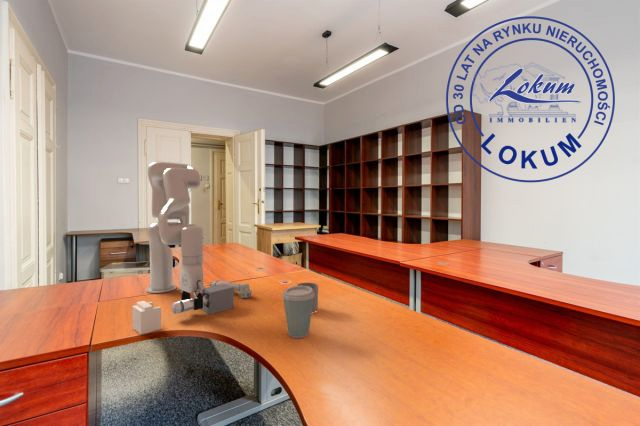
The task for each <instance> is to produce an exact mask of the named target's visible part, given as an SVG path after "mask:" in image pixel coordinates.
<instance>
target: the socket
mask: <svg viewBox="0 0 640 426" xmlns="http://www.w3.org/2000/svg"><path fill="white" fill-rule="evenodd" d="M161 329H162V306H156V307H154V301H149V302H147V301H145V300H141V301H136V304H135V305H132V330H135V331H136V332H137V333H139V335H145V334H148V333H151V332H155V331H159V330H161Z"/></svg>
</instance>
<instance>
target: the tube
mask: <svg viewBox="0 0 640 426" xmlns="http://www.w3.org/2000/svg"><path fill="white" fill-rule="evenodd" d="M194 299H195V297H192V298H191V297H190V299H187V300H183V301H181V300H178V301H176V302H175V301H174V302H173V303H172V304H171V309H172V310H171V311H172V313H173V314H174V315H177V314H181V313H184V312H188V311H192V310H194ZM208 305H209V294H208V295H204V298H203V307H204V306H208Z"/></svg>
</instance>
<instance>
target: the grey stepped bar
mask: <svg viewBox="0 0 640 426" xmlns="http://www.w3.org/2000/svg"><path fill="white" fill-rule="evenodd" d="M220 284H226V285H229V286H232V287H234V292H237V294H238V296H239V298H240V299H249V298H251V297H252V292H253V291H252V289H251V288H250V284H249V283H235V282H228V281H223V280H212V281H211V282H210V284H209V285H210V286H209V287H211V286H216V285H220Z"/></svg>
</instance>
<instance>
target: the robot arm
mask: <svg viewBox="0 0 640 426" xmlns="http://www.w3.org/2000/svg"><path fill="white" fill-rule="evenodd" d="M147 178H148V181H149V184H150V186H151V215H152V217H153V219H155V220H158V221H157V222H153V223H150V225H148V227H147V237H148V245H149V286H147V287H146V288H145V291H146V292H147V293H151V294H163V293H168V292H172V291H174V290H176V289H177V285H176V284H174V283H173V282H174V281H173V280H174V279H173V278H174V277H173V273H174V272H173V270H174V269H173V266H174V265H173V264H174V263H173V262H174V260H173V257H174V256H173V254H174V253H173V250H172V248H171V247H170V246H172V245H180V268H179V279H178V281H179V283H178V284H179V285H178V286H179V289H180V293H181V295H180V296H181V297H180V298H181V299H180V301H183V300H187V299H191V294H193V296H194V297H193V298H195V299H194V309H193V311H197V310H201V309H202V308H203V298H204V294H205V293H204V292H205V288H206V287H205V285H204V270H203V269H204V268H203V264H204V229H203V228H202V227H201V226H199V225H197V224H195V223H190V205H189V204H190V203H191V198H190V197H191V196H190V193H189V190H188V189H191V190H192V189H193V190H195V189H199V187H200V185H201V176H200V173H199V171H198V170H197V169H196V168H194V167H193V166H192V165H191V164H190V165H189V164H186V163H176V162H165V161H154V162H151V163H150V164H149V165H148V167H147ZM168 220H177V221H171V222H170V221H168Z"/></svg>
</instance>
